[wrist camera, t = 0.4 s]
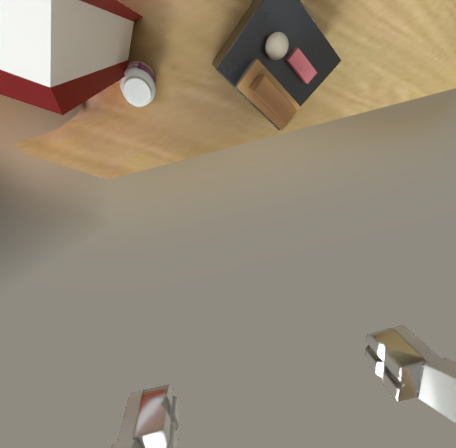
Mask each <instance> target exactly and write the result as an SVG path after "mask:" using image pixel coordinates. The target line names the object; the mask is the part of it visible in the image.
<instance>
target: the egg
mask: <svg viewBox="0 0 456 448" xmlns="http://www.w3.org/2000/svg"><path fill="white" fill-rule="evenodd" d="M288 46H289V43H288V39H287V37H286V35H285V34H284V33H282V32H275V33H273V34H271V35H270V36H269V38H268V39H267V41H266V45H265V50H266V53H267V55H268V57H269V58H270V59H272V60H279V59H281V58H282V57H284V56H285V54H286V53H287V50H288Z"/></svg>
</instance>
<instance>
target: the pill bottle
mask: <svg viewBox="0 0 456 448" xmlns="http://www.w3.org/2000/svg"><path fill="white" fill-rule="evenodd" d="M124 75H125V77H123V78H122V79H120V88H121V92H122V94H123V95H124V97H125V98H126V100H127V101H128V102H129V103H130V104H132V105H134V106H137V107H142V106H145V105H147V104H149V103H150V102H151V101H152V100H153V99H154V96H155V93H156V84H155V76H154V73H153V71H152V70H151V68H150V67H149V66H148V65H146V64H145V63H143V62H140V61H134V62H131V63H129V64H128V66H127V68H126V70H125V72H124Z"/></svg>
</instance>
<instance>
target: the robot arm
mask: <svg viewBox="0 0 456 448" xmlns="http://www.w3.org/2000/svg"><path fill="white" fill-rule="evenodd" d="M366 342H367V343H368V344H369V345H368V346H367V347H366V349H365V355H366V359H367V362H368V364H369V365H370V367H371V369H372V370H373V371H374V373H375V374H376V375H378V376H380V377H382V378H383V385H384V386H385V387H386V389H387V390H388V391H389V392H390V394H391V395H392V397H393V398H394V399H395V400H396V402H399V401H403V400H407V399H412V398H415V397H419V399H420V400H422V401H423V402H425V403H426V404H428V405H429V406H431V407H432V408H434V409H435V410H437V411H438V412H440V413H441V414H443V415H444V416H446V417H447V418H449V419H450V420H452V421H453V422H455V423H456V362H454V361H451V360H449V359H447V358H442V359H441V358H440V357H439V356H438V355H437V354H436V353H435V352H433V350H431V349H430V348H429V347H428V346H427V345H426V344H425V343H424V342H423V341H422V340H420V339H419V338H418V337H417V336H416V335H415V334H414V333H413V332H412V331H410V330H409V329H408V328H407V327H405V326H397V327H394V328H388V329H385V330H381V331H377V332H374V333H370V334H367V336H366ZM178 426H179V405H178V401H177V398H176V397H175V396H173V388H172V386H171V384H169V385H164V386H159V387H155V388H150V389H146V390H142V391H137V392H134V393H131V394H130V396H129V398H128V402H127V406H126V410H125V414H124V419H123V422H122V426H121V431H120V434H119V438H118V442H117V444H114V445H113V446H112V447H111V448H178V437H177V434H176V430H177V428H178Z"/></svg>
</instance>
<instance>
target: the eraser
mask: <svg viewBox="0 0 456 448" xmlns="http://www.w3.org/2000/svg"><path fill="white" fill-rule="evenodd" d="M285 60H286V62H287V63H288V64H289V65H290V66H291V68H292V69H293V70H294V71H295V72H296V74H297V75H298V76H299V77H300V78H301V80H302V81H303V82H304V83H306V84H308V83H309V82H310V81H311V80H312V78H313V77H314V76H315V75H316V74H317V71H316V70H315V69H314V67H313V66H312V65H311V63H310V62H309V61H308V60H307V58H306V57H305V56H304V54H303V53H302V52H301V50H300V49H299V48H294V49H293V50H292V52H291V53H290V54H289V56H288V57H287V58H286V59H285Z"/></svg>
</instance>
